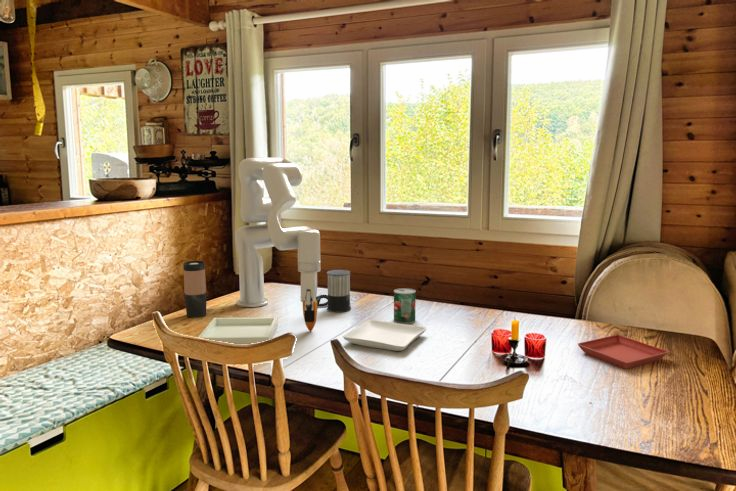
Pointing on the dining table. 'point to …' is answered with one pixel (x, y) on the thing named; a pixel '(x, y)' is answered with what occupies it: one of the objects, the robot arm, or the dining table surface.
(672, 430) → the dining table surface
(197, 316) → the travel mug
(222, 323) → the tray
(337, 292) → the milk frother
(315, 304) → the carrot
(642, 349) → the plant saucer
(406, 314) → the canned tomato
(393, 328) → the salad plate
